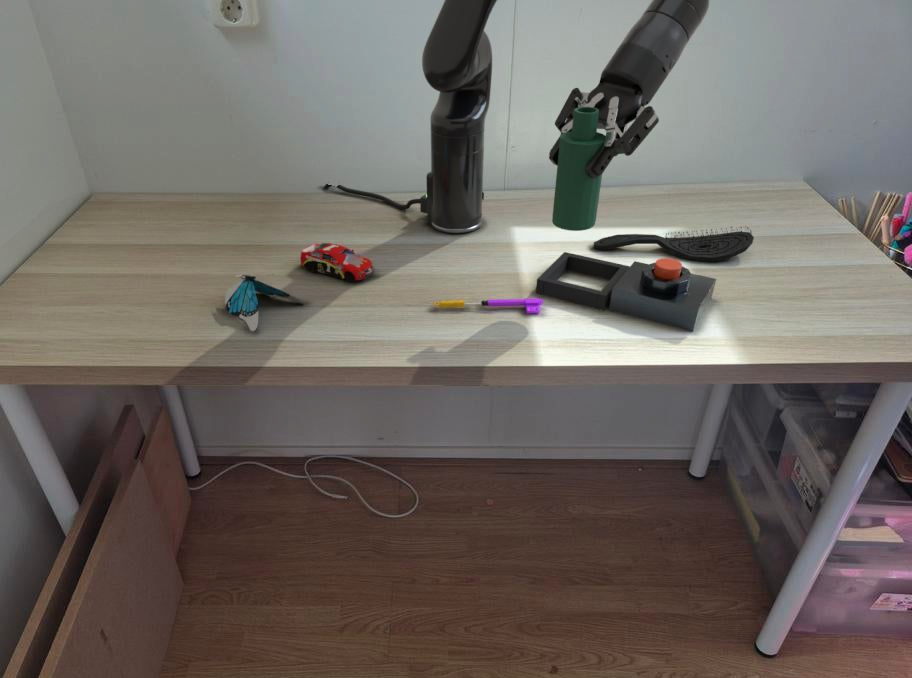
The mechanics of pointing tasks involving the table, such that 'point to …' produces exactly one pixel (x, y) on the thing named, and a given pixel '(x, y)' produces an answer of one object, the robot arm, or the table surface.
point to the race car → (336, 261)
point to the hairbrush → (687, 244)
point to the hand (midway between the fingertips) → (571, 168)
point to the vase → (577, 173)
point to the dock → (576, 293)
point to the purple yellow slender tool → (499, 303)
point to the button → (667, 268)
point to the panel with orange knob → (662, 296)
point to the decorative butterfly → (250, 298)
